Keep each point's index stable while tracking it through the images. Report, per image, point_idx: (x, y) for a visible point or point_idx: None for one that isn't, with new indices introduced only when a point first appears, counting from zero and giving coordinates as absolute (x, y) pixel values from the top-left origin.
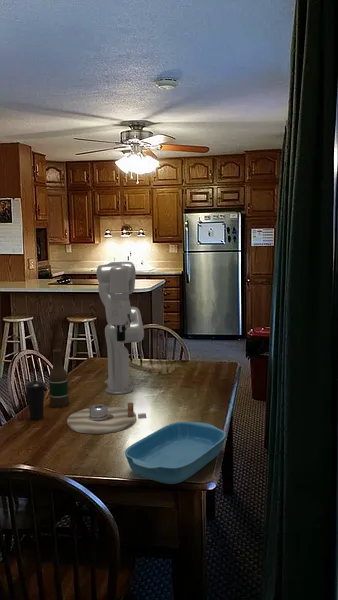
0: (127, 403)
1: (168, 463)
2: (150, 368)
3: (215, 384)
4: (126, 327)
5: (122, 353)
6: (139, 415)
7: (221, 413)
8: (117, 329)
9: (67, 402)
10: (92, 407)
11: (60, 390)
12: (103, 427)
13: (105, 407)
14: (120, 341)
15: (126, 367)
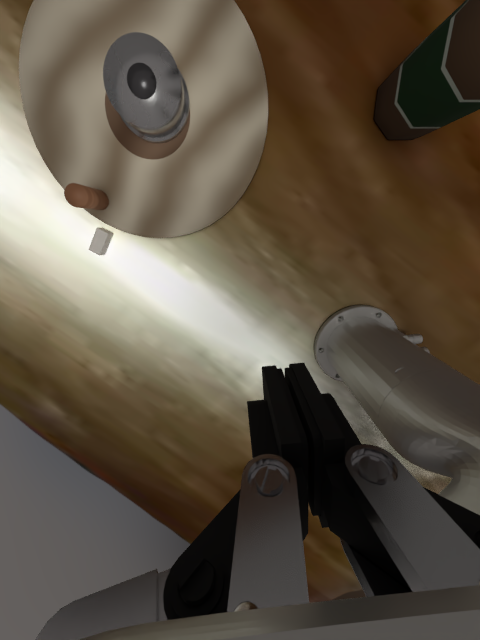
0: (81, 186)
1: None
2: None
3: (204, 515)
4: (116, 607)
5: (398, 422)
6: (97, 230)
7: (13, 405)
8: (356, 485)
9: (382, 121)
10: (156, 58)
11: (421, 48)
12: (45, 39)
13: (122, 105)
14: (263, 375)
15: (358, 394)
